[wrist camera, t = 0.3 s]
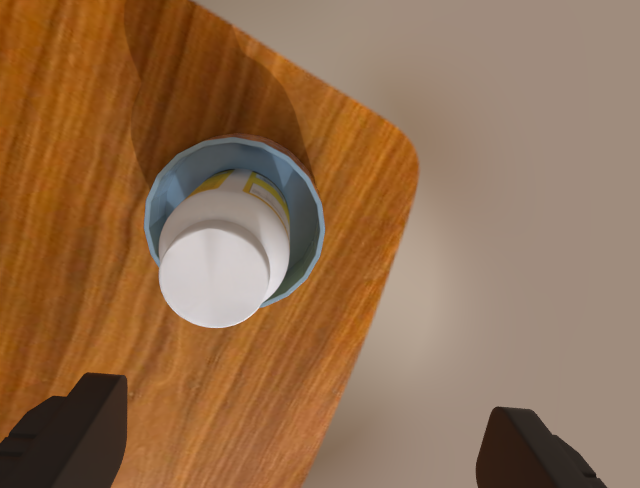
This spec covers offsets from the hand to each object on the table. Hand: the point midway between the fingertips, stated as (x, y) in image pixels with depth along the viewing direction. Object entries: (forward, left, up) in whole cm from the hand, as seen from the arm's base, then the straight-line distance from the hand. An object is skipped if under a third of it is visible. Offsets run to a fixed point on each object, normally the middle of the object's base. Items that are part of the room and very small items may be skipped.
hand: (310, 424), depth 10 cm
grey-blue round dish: (+1, -4, -22) cm, 22 cm away
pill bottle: (+1, -4, -22) cm, 22 cm away
